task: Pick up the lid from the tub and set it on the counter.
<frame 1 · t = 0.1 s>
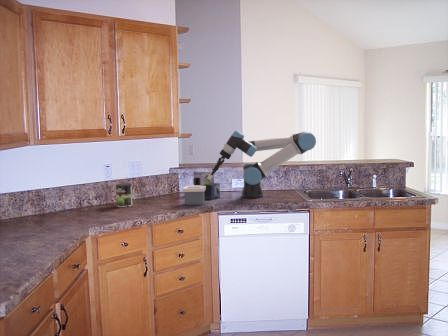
hand: (209, 177, 325), 15 cm above the counter, tool tilted 35°, fingers open, 13 cm apart
multicoloured piece: (124, 206, 316), on the counter
small box: (212, 199, 334), on the counter
cake pan box: (204, 195, 352), on the counter
lid: (194, 190, 314), point 9 cm above the counter, touching tub
tub: (194, 204, 315), on the counter
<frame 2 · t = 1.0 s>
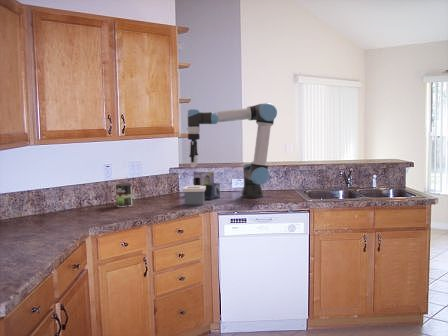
hand: (194, 166, 313), 25 cm above the counter, tool pointing down, fingers open, 13 cm apart
nothing on the counter moved.
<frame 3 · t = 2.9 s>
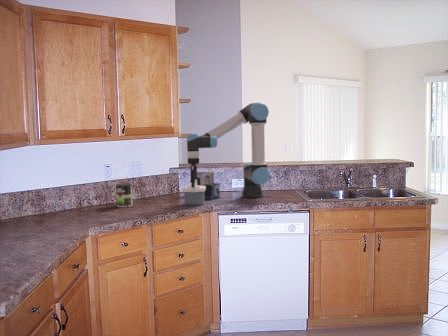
hand: (194, 190, 314), 9 cm above the counter, tool pointing down, fingers closed on lid, 12 cm apart
lid: (194, 190, 314), point 9 cm above the counter, touching gripper, tub
everything else where it was.
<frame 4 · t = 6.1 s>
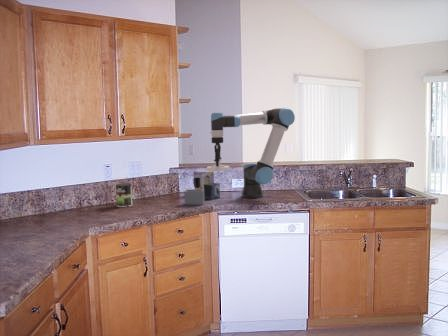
hand: (218, 170, 312), 22 cm above the counter, tool pointing down, fingers closed on lid, 12 cm apart
lid: (218, 169, 312), point 22 cm above the counter, touching gripper
everything else where it was.
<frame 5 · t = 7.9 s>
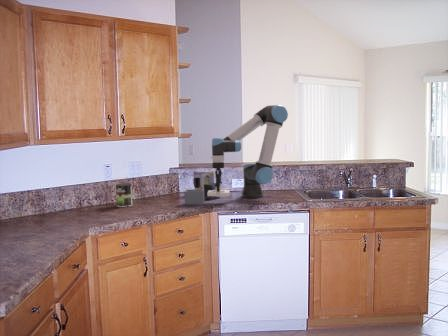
hand: (218, 195, 313), 6 cm above the counter, tool pointing down, fingers closed on lid, 12 cm apart
lid: (218, 194, 313), point 6 cm above the counter, touching gripper
everything else where it was.
when the fingers open (2 cm above the counter, at t = 9.2 s): lid drops 3 cm, on the counter.
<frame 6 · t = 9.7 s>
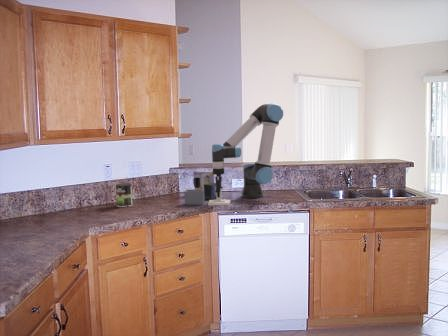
hand: (219, 200, 314), 2 cm above the counter, tool pointing down, fingers open, 13 cm apart
lid: (219, 204, 314), on the counter
everything else where it was.
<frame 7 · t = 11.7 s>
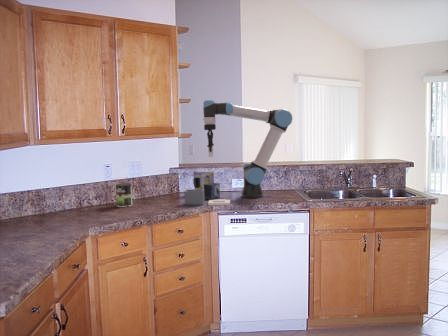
hand: (211, 156, 321), 30 cm above the counter, tool pointing down, fingers open, 13 cm apart
nothing on the counter moved.
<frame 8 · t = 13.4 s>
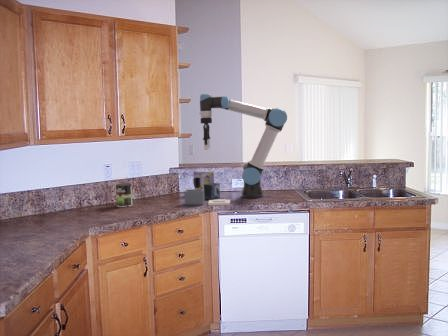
hand: (207, 149, 325), 35 cm above the counter, tool pointing down, fingers open, 13 cm apart
nothing on the counter moved.
at the end: lid inside the target area (0.0 cm from its centre), on the counter; lid tilted 0°; lid touching counter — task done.
